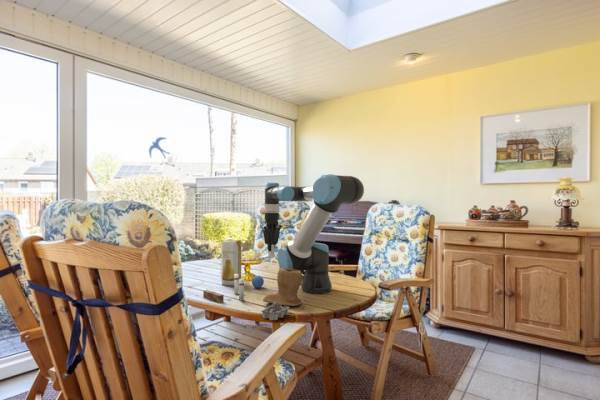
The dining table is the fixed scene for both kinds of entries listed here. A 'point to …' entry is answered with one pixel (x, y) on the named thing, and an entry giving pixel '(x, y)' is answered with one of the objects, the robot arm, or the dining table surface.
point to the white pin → (236, 284)
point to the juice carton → (230, 260)
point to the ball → (257, 281)
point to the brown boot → (286, 288)
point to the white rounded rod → (241, 289)
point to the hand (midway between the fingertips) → (271, 257)
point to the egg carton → (275, 311)
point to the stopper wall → (213, 296)
